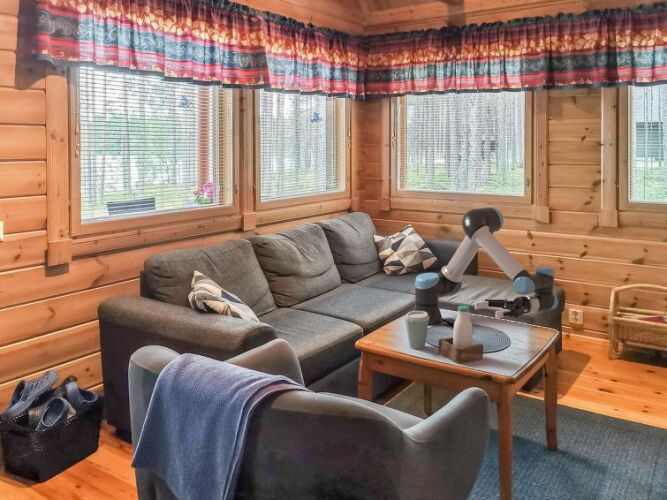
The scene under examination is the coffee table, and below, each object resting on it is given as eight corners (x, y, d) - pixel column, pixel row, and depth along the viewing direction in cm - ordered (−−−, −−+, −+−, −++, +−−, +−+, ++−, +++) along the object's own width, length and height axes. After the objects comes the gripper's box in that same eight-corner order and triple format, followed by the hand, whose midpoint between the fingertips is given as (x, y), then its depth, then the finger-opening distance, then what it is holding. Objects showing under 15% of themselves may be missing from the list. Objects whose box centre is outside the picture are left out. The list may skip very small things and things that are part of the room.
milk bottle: (472, 357, 243) (473, 309, 240) (452, 355, 245) (453, 308, 242) (471, 350, 251) (473, 304, 247) (452, 349, 252) (454, 303, 249)
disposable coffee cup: (424, 352, 252) (424, 318, 250) (400, 348, 258) (400, 314, 255) (432, 345, 262) (433, 311, 259) (409, 341, 267) (409, 308, 264)
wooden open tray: (438, 353, 251) (438, 339, 250) (462, 349, 256) (462, 335, 255) (458, 364, 239) (458, 349, 238) (482, 359, 243) (483, 345, 242)
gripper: (545, 321, 246) (504, 327, 238) (505, 305, 269) (466, 310, 260) (547, 303, 245) (505, 309, 236) (506, 289, 267) (467, 294, 259)
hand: (485, 310), depth 248 cm, fingers open, 13 cm apart
